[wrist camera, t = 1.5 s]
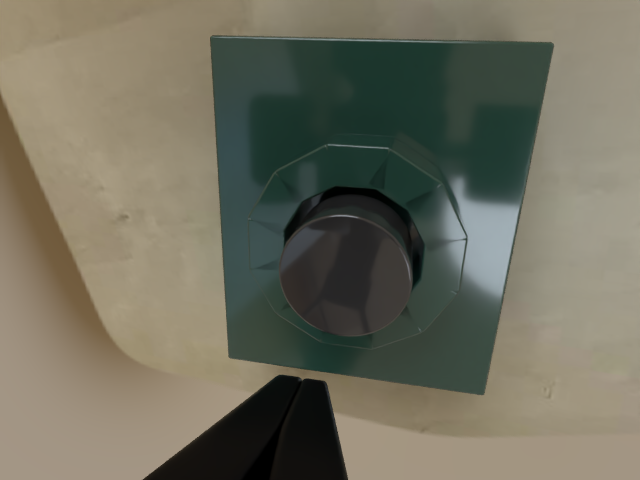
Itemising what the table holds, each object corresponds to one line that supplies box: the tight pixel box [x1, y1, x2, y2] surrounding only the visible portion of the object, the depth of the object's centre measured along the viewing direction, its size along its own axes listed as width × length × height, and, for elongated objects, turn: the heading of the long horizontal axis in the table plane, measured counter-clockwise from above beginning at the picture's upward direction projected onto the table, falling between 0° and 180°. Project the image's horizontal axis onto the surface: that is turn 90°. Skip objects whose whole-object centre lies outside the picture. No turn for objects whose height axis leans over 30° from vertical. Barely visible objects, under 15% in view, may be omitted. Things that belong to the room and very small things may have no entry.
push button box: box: [210, 35, 554, 395], centre depth 16 cm, size 12×10×6 cm
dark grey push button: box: [279, 194, 413, 336], centre depth 13 cm, size 4×4×2 cm
